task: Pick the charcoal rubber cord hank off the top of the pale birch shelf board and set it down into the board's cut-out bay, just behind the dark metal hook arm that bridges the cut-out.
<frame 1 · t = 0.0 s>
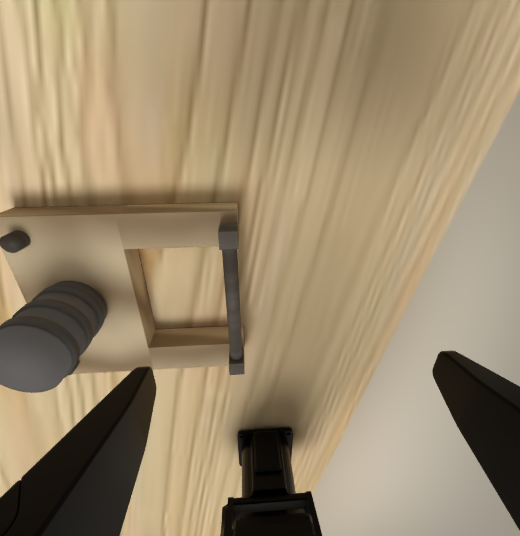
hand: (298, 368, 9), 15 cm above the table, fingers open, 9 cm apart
cord hank: (76, 305, 21), point 2 cm above the table, touching shelf board
shelf board: (146, 287, 24), on the table
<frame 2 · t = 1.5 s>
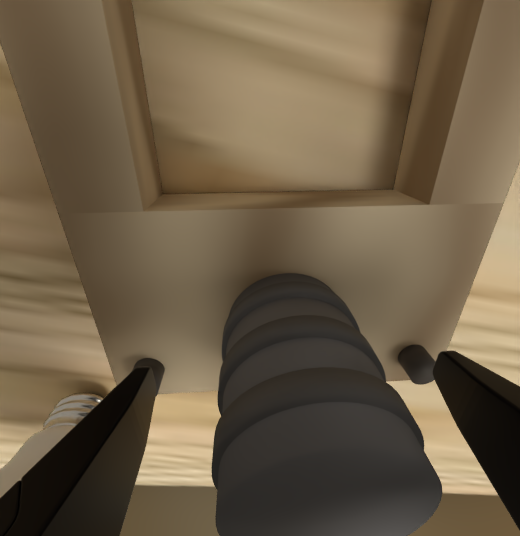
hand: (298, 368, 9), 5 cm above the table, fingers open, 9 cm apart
light bulb: (95, 396, 16), on the table
cord hank: (285, 323, 11), point 2 cm above the table, touching shelf board
shelf board: (280, 191, 11), on the table
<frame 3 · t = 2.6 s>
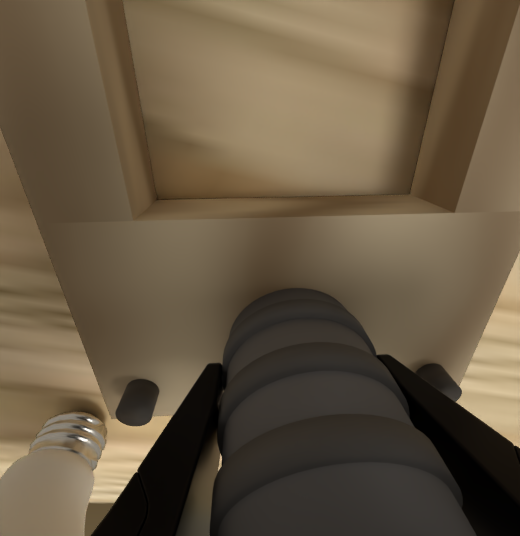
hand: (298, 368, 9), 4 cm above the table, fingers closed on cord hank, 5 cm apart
light bulb: (87, 413, 15), on the table
cord hank: (291, 341, 10), point 2 cm above the table, touching gripper, shelf board
shelf board: (286, 197, 10), on the table
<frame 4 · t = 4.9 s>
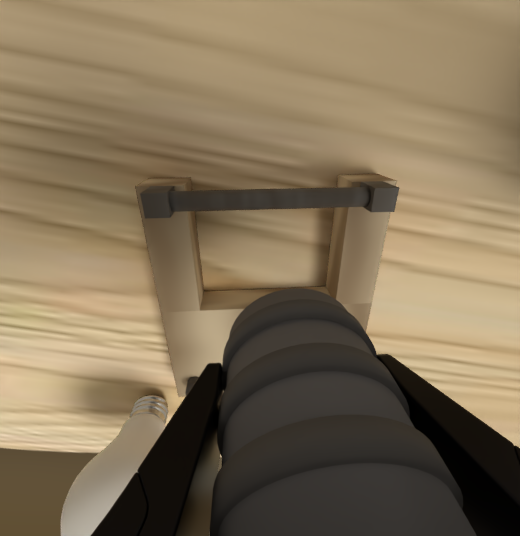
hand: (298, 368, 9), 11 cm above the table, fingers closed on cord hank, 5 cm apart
light bulb: (154, 396, 25), on the table
cord hank: (291, 342, 10), point 10 cm above the table, touching gripper
shelf board: (265, 288, 21), on the table
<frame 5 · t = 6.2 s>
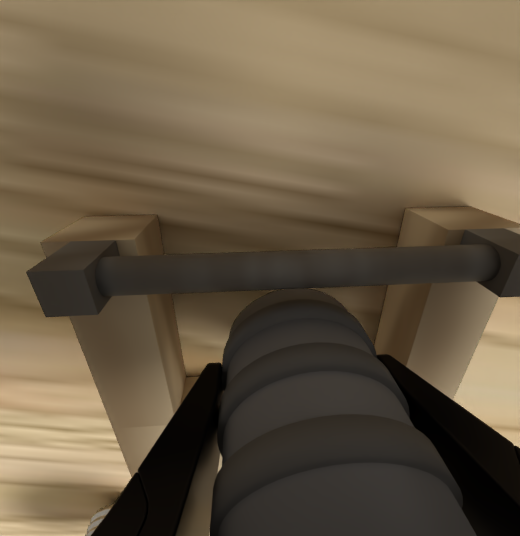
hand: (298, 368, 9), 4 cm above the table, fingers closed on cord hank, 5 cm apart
light bulb: (123, 499, 18), on the table
cord hank: (291, 342, 10), point 2 cm above the table, touching gripper
shelf board: (279, 372, 14), on the table
when the fingers open (3 cm above the table, at t = 7.0 s): cord hank drops 2 cm, on the table.
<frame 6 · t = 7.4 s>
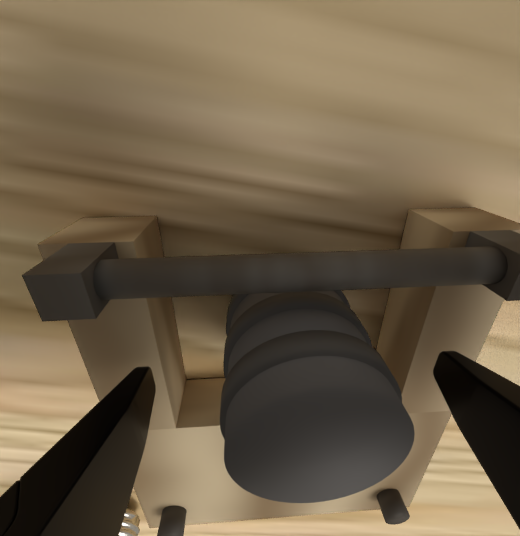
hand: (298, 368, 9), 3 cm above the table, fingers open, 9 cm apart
light bulb: (122, 502, 18), on the table
cord hank: (283, 305, 12), on the table
shelf board: (280, 374, 14), on the table
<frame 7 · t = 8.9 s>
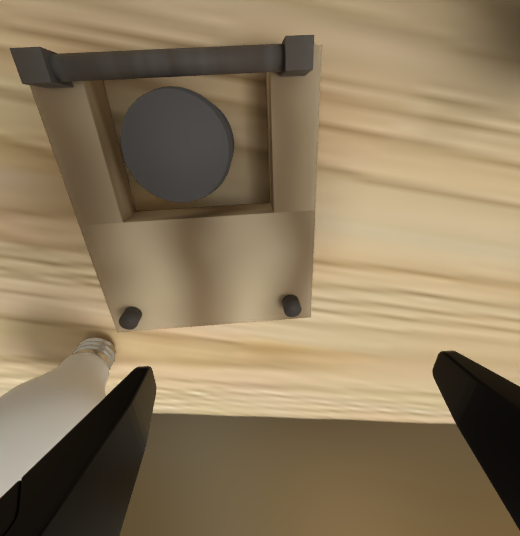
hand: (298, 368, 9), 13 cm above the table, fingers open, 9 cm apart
light bulb: (103, 342, 24), on the table
cord hank: (195, 142, 17), on the table
shelf board: (203, 207, 19), on the table
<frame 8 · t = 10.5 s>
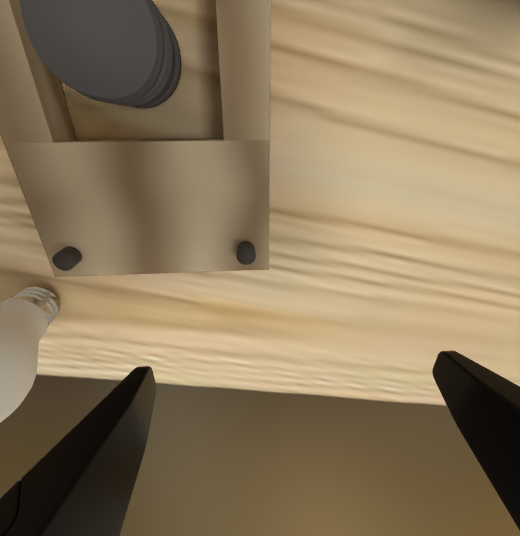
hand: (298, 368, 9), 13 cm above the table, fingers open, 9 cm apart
light bulb: (48, 295, 22), on the table
cord hank: (140, 59, 15), on the table
shelf board: (152, 139, 17), on the table
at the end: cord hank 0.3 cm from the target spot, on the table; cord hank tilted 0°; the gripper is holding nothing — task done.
